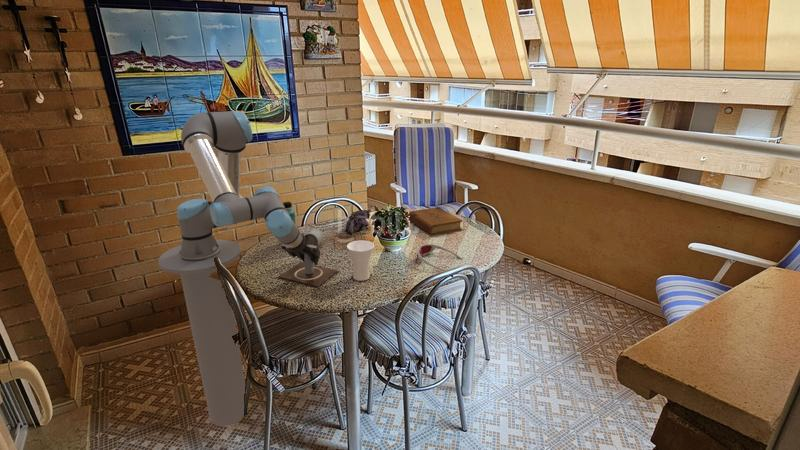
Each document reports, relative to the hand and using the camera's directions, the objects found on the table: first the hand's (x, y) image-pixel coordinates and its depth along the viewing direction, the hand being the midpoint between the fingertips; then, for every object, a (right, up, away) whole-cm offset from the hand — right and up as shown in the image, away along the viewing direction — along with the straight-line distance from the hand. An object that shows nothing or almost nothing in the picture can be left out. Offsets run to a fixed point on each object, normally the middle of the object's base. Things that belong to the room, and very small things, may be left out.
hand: (312, 261), depth 161 cm
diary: (+53, +14, +53) cm, 76 cm away
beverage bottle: (-17, +6, +31) cm, 35 cm away
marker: (-1, -5, -2) cm, 5 cm away
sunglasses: (+50, -1, +13) cm, 52 cm away
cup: (+20, -6, -1) cm, 21 cm away
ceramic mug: (-6, +4, +27) cm, 28 cm away
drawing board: (-2, -5, +1) cm, 6 cm away
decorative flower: (+14, +12, +47) cm, 50 cm away
